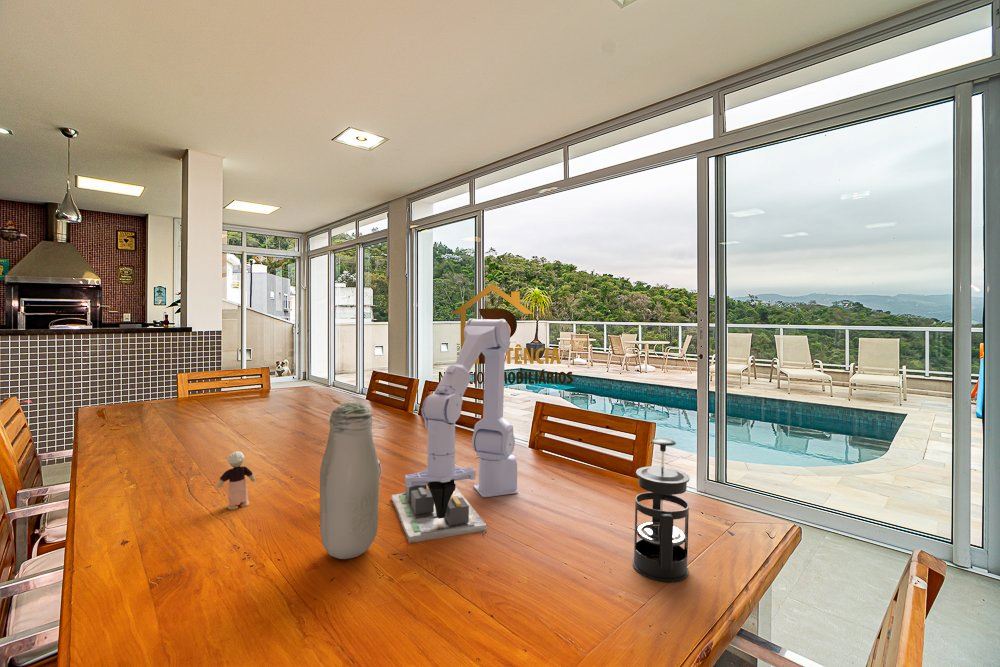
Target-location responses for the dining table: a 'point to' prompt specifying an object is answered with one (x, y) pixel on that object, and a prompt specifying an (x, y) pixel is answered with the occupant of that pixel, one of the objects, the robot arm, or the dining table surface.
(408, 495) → the breaker
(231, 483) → the grandmother figurine
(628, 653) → the dining table surface
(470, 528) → the breaker panel
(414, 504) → the breaker
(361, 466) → the glass bottle
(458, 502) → the block
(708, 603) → the dining table surface
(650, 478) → the french press
